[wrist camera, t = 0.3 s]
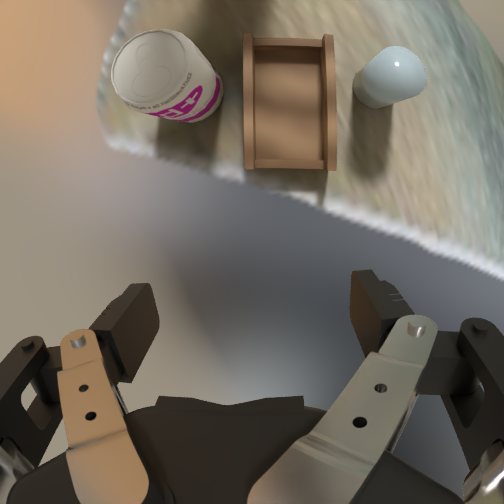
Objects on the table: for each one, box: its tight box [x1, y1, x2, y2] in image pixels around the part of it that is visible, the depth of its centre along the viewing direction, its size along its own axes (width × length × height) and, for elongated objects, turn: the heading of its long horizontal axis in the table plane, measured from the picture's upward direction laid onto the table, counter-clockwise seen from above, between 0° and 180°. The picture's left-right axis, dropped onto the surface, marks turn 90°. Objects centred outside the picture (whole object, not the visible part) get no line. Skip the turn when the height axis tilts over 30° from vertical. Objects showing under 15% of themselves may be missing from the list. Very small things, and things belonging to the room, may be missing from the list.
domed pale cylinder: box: [353, 46, 426, 108], centre depth 29 cm, size 6×6×10 cm
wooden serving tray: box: [243, 33, 337, 171], centre depth 33 cm, size 16×10×5 cm, turn 1°
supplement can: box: [111, 29, 223, 123], centre depth 28 cm, size 8×8×15 cm
